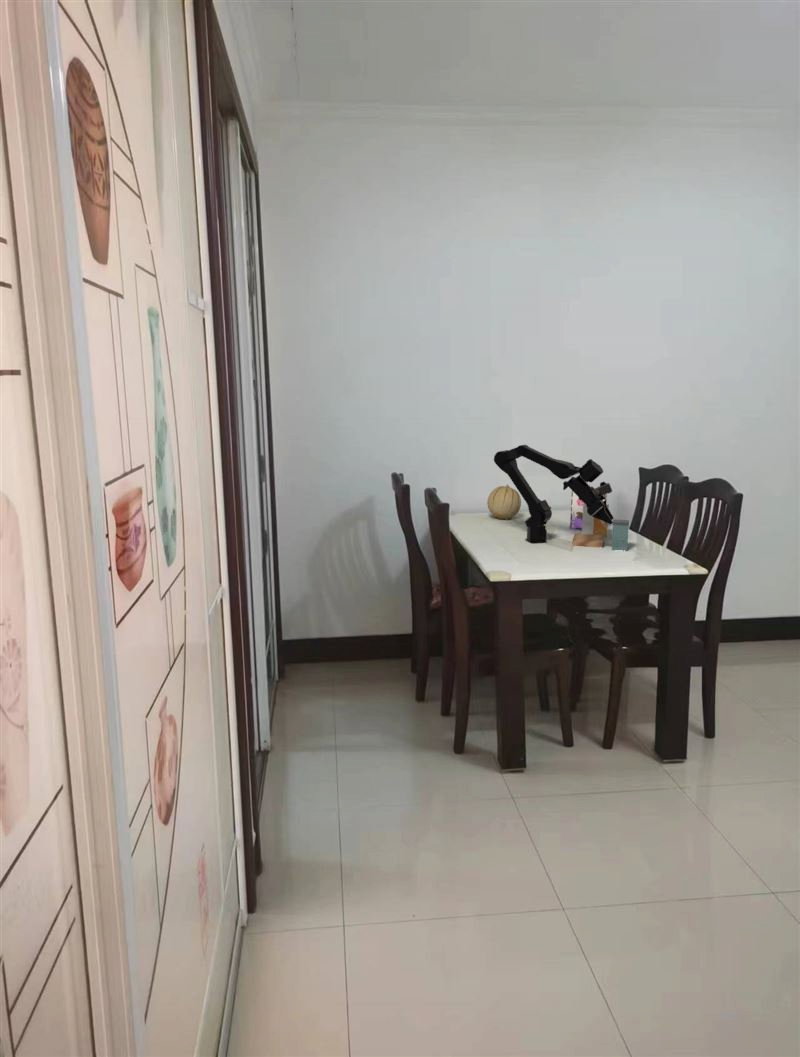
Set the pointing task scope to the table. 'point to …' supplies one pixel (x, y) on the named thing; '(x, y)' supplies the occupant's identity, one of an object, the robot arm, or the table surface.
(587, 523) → the small box
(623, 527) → the tea tin
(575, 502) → the candy box
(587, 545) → the walnut block
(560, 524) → the table surface
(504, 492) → the cantaloupe
